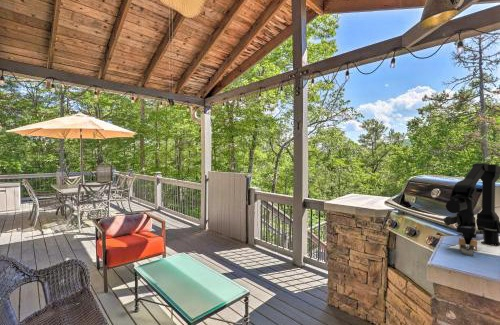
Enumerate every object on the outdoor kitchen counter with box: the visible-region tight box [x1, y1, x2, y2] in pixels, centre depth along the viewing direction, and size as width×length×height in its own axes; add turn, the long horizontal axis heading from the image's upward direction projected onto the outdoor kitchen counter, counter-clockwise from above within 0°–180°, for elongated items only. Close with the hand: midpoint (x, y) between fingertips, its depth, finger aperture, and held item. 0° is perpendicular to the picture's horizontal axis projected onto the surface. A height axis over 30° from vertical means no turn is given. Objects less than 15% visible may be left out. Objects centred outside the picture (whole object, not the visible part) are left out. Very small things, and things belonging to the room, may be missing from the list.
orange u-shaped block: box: [458, 237, 478, 252], centre depth 125 cm, size 3×6×4 cm, turn 49°
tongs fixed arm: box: [461, 245, 475, 257], centre depth 124 cm, size 20×4×2 cm, turn 139°
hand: (467, 244), depth 123 cm, fingers closed
